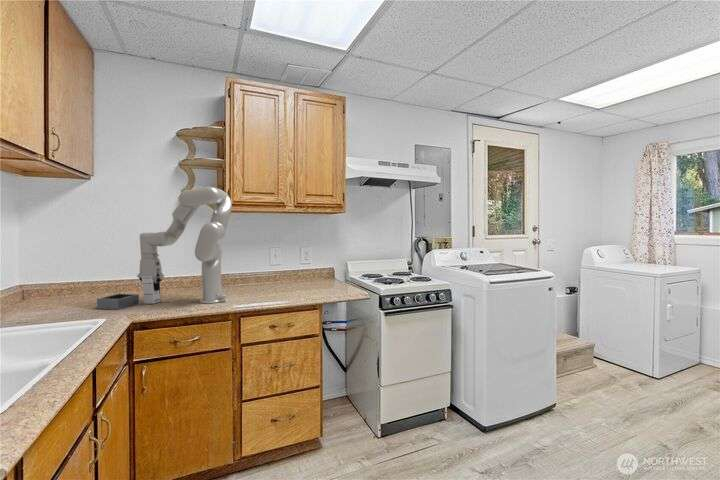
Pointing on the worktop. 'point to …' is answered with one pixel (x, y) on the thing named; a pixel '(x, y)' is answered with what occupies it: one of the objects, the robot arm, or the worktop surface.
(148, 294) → the syrup box
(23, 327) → the worktop surface
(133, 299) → the grey square tray
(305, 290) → the worktop surface
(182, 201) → the robot arm
